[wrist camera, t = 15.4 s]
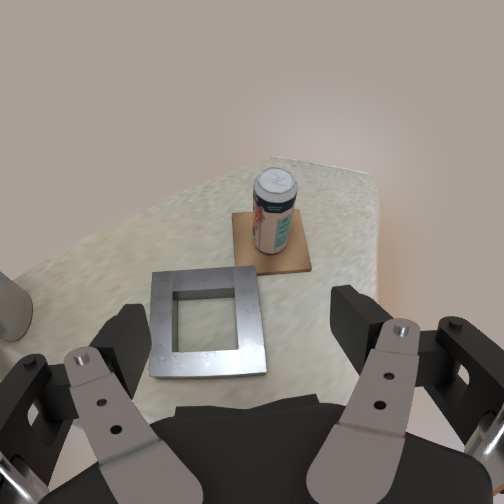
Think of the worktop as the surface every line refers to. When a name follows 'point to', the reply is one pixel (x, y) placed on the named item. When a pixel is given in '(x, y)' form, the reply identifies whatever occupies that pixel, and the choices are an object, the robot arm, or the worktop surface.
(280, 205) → the beer can
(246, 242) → the walnut coaster
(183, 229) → the worktop surface
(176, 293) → the metal collar
